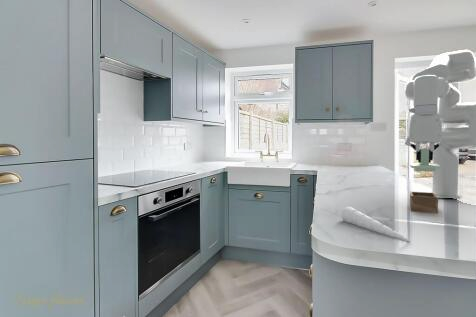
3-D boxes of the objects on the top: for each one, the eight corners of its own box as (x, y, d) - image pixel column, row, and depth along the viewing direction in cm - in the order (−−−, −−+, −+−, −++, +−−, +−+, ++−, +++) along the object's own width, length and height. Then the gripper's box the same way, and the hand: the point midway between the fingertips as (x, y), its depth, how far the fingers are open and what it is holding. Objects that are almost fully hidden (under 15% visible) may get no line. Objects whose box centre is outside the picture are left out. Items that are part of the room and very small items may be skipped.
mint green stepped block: (409, 168, 118) (410, 147, 118) (436, 169, 114) (436, 147, 114) (411, 171, 108) (411, 148, 107) (440, 172, 104) (440, 148, 104)
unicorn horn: (397, 245, 75) (398, 225, 74) (339, 221, 97) (339, 206, 97) (413, 243, 76) (413, 223, 76) (352, 220, 99) (352, 205, 98)
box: (409, 207, 118) (409, 191, 118) (434, 208, 115) (434, 192, 114) (410, 212, 108) (411, 195, 108) (437, 214, 105) (438, 197, 105)
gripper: (400, 111, 110) (399, 162, 111) (454, 108, 103) (452, 163, 104) (399, 113, 117) (399, 161, 118) (450, 110, 110) (449, 162, 111)
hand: (424, 162), depth 111 cm, fingers closed on mint green stepped block
